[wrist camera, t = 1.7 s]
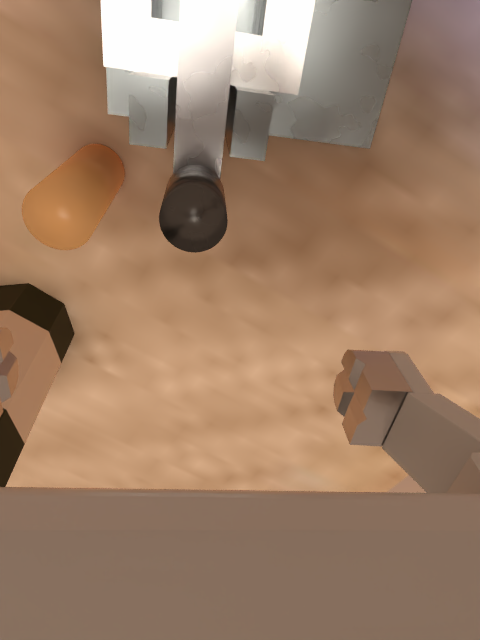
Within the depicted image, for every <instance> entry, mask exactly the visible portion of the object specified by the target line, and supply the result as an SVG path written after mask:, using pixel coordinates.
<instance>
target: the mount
mask: <svg viewBox="0 0 480 640" xmlns="http://www.w3.org/2000/svg"><path fill="white" fill-rule="evenodd" d="M180 2H181V0H101V18H102V44H103V66H104V67H106V75H107V102H108V114H113V115H120V116H128V117H129V144H132V145H140V146H148V147H156V148H164V149H166V148H167V146H168V143H169V140H170V138H171V135H172V132H173V130H174V127H175V117H176V94H177V71H178V48H179V25H180ZM411 3H412V0H239V2H238V12H237V21H236V31H235V41H234V50H233V60H232V69H231V79H230V89H229V98H228V108H227V117H226V127H225V137H226V141H227V146H228V150H229V155H230V157H236V158H244V159H252V160H260V161H265V156H266V150H267V143H268V137H269V135H271V136H278V137H286V138H293V139H301V140H308V141H316V142H323V143H331V144H338V145H346V146H353V147H361V148H368V149H370V147H371V143H372V140H373V136H374V133H375V129H376V126H377V122H378V119H379V115H380V112H381V108H382V105H383V101H384V98H385V94H386V91H387V87H388V84H389V80H390V76H391V73H392V69H393V66H394V62H395V59H396V55H397V52H398V48H399V45H400V41H401V38H402V34H403V31H404V27H405V24H406V20H407V17H408V13H409V10H410V6H411Z"/></svg>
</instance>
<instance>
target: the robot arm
mask: <svg viewBox="0 0 480 640" xmlns="http://www.w3.org/2000/svg"><path fill="white" fill-rule="evenodd" d="M13 344H14V340H13V336H12V332H11V331H10V330H9V329H8V328H4V327H0V416H1V415H2V413H3V407H2V402H4V401H6V400H7V399H9V398H10V397H11V396H12V394H13V393H14V391H15V389H16V385H17V381H18V377H19V365H18V360H17V357H15V356H14V355H13V354H12V353H11V352H10V351H9V350H10V349H11V347H12V345H13ZM342 365H343V367H344V370H343V371H342V372H340V373H339V374H338V375H337V376H336V380H335V383H334V392H333V397H334V403H335V406H336V409H337V411H338V412H339V413H341V414H342V415H343V416H344V420H343V423H342V425H343V428H344V430H345V433H346V436H347V438H348V441H349V444H350V445H367V446H383V447H382V448H383V449H384V450H385V451H386V452H387V453H388V454H389V455H390V456H391V457H392V458H393V459H394V460H395V461H396V462H397V463H398V464H399V465H400V466H401V467H402V468H403V469H404V470H405V471H406V472H407V473H408V474H409V475H410V476H411V477H412V478H413V479H414V480H415V481H416V482H417V483H418V484H419V485H420V486H421V487H422V488H423V489H424V490H425V491H426V492H427V493H388V492H317V491H255V490H185V489H112V488H41V487H0V640H480V419H479V418H477V417H476V416H474V415H472V414H471V413H469V412H468V411H466V410H464V409H463V408H461V407H460V406H458V405H457V404H455V403H453V402H452V401H450V400H449V399H447V398H445V397H444V396H442V395H441V394H434V393H433V391H432V390H431V388H430V387H429V385H428V384H427V382H426V381H425V379H424V378H423V376H422V375H421V373H420V372H419V370H418V369H417V367H416V366H415V364H414V363H413V362H412V360H411V359H410V357H409V356H408V354H406V353H405V352H400V351H384V352H383V351H365V350H347V351H346V352H345V354H344V356H343V359H342Z"/></svg>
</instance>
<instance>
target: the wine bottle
mask: <svg viewBox="0 0 480 640" xmlns="http://www.w3.org/2000/svg"><path fill="white" fill-rule="evenodd" d="M0 327H4V328H8V329H9V330H10V331H11V332H12V336H13V340H14V344H13V345H12V347H11V349H10V350H9V351H10V352H11V353H12V354H13V355H14V356H15V357H17V360H18V365H19V377H18V381H17V385H16V389H15V391H14V393H13V394H12V396H11V397H10V398H9V399H7V400H6V401H4V402H2V407H3V413H2V415H1V416H0V487H5V486H6V484H7V482H8V480H9V477H10V475H11V473H12V471H13V469H14V466H15V464H16V462H17V460H18V457H19V455H20V453H21V451H22V449H23V446H24V444H25V442H26V440H27V438H28V435H29V433H30V431H31V429H32V427H33V424H34V422H35V420H36V418H37V416H38V413H39V411H40V409H41V407H42V405H43V402H44V400H45V398H46V396H47V393H48V391H49V389H50V387H51V385H52V382H53V380H54V378H55V376H56V374H57V371H58V369H59V367H60V365H61V363H62V360H63V358H64V356H65V354H66V352H67V349H68V347H69V345H70V343H71V341H72V338H73V336H74V331H73V328H72V325H71V322H70V320H69V317H68V314H67V311H66V308H65V305H64V304H63V303H61V302H60V301H58V300H56V299H55V298H53V297H51V296H49V295H48V294H46V293H44V292H43V291H41V290H39V289H37V288H36V287H34V286H32V285H30V284H29V283H28V284H17V285H6V286H0Z"/></svg>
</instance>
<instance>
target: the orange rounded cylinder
mask: <svg viewBox="0 0 480 640" xmlns="http://www.w3.org/2000/svg"><path fill="white" fill-rule="evenodd" d="M124 177H125V171H124V166H123V163H122V161H121V159H120V158H119V156H118V155H117V154H116V153H115V152H114V151H113V150H112V149H110V148H108V147H106V146H104V145H100V144H89V145H86V146H84V147H82V148H81V149H80V150H79V151H77V152H76V153H75V154H74V155H73V156H71V157H70V158H69V159H68V160H67V161H65V162H64V163H63V164H62V165H60V166H59V167H58V168H57V169H56V170H54V171H53V172H52V173H51V174H50V175H48V176H47V177H46V178H45V179H44V180H42V181H41V182H40V183H39V184H37V185H36V186H35V187H34V188H33V189H31V190H30V191H29V192H28V193H27V195H26V196H25V198H24V200H23V204H22V216H23V220H24V222H25V225H26V227H27V228H28V230H29V231H30V233H31V234H32V235H33V236H34V237H35V238H36V239H37V240H39V241H40V242H42V243H43V244H45V245H47V246H49V247H52V248H55V249H60V250H71V249H76V248H78V247H80V246H82V245H84V244H85V243H86V242H87V241H88V240H89V239H90V237H91V235H92V234H93V232H94V230H95V229H96V227H97V225H98V224H99V222H100V220H101V219H102V217H103V215H104V214H105V212H106V210H107V209H108V207H109V205H110V204H111V202H112V200H113V199H114V197H115V195H116V194H117V192H118V190H119V189H120V187H121V185H122V184H123V181H124Z"/></svg>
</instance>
